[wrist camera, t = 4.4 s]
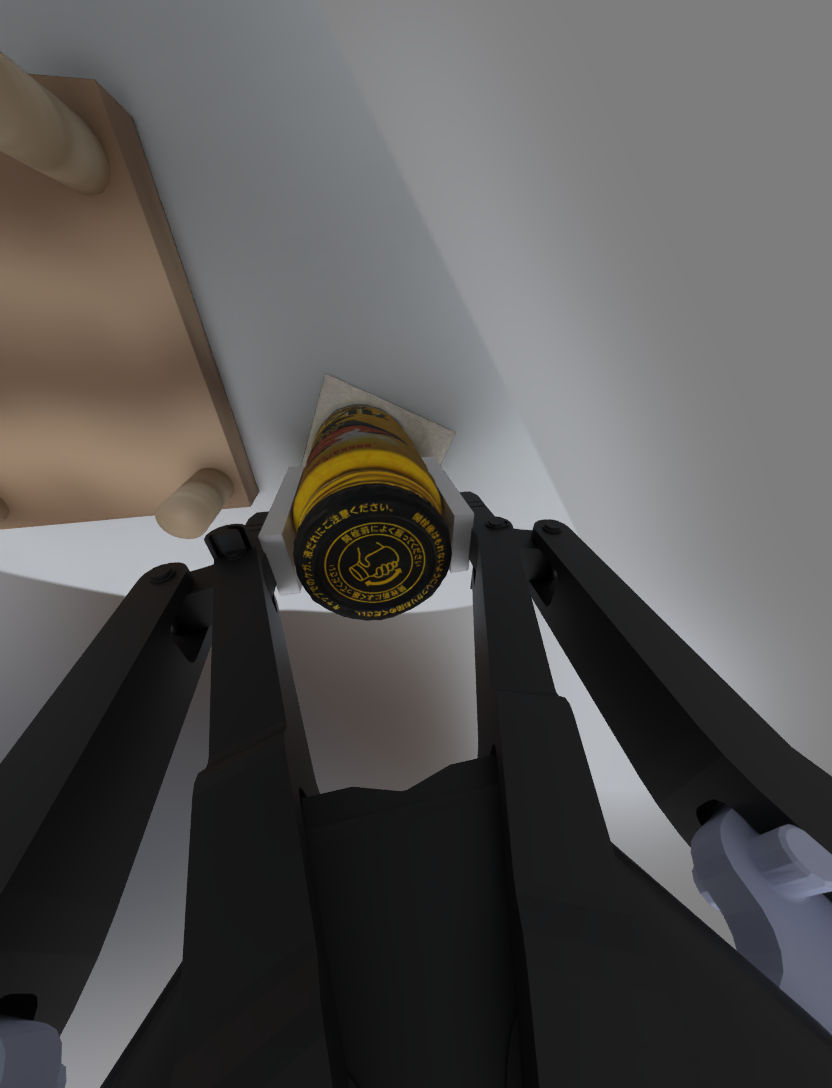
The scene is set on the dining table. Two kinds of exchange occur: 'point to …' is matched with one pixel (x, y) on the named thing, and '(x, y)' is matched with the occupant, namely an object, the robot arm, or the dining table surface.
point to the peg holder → (100, 328)
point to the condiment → (369, 506)
